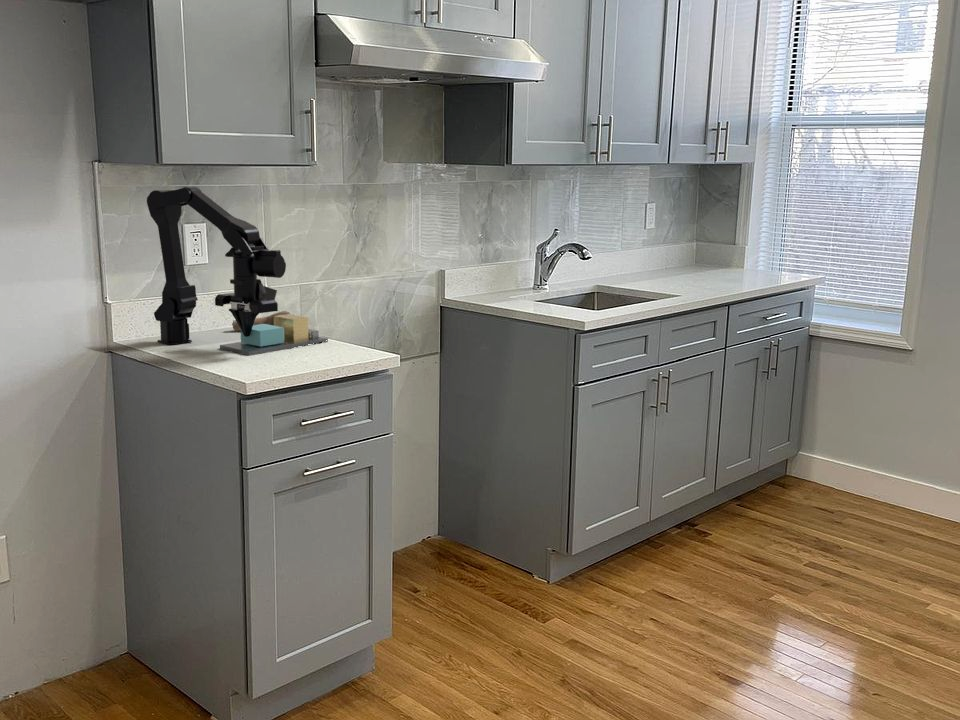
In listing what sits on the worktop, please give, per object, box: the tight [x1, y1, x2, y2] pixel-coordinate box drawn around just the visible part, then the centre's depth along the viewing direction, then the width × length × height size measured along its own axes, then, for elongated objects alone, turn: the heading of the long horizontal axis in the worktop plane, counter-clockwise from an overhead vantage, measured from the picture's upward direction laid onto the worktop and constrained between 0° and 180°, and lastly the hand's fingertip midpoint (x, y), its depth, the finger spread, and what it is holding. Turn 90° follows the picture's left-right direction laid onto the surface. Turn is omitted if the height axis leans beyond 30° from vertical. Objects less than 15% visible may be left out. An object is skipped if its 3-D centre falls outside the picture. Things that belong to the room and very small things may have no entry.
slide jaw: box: [240, 324, 284, 347], centre depth 245 cm, size 8×8×4 cm
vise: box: [219, 328, 329, 356], centre depth 248 cm, size 26×12×3 cm, turn 141°
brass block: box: [274, 313, 309, 342], centre depth 252 cm, size 8×5×6 cm, turn 51°
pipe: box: [231, 310, 291, 332], centre depth 268 cm, size 6×17×10 cm
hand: (246, 336), depth 241 cm, fingers closed
